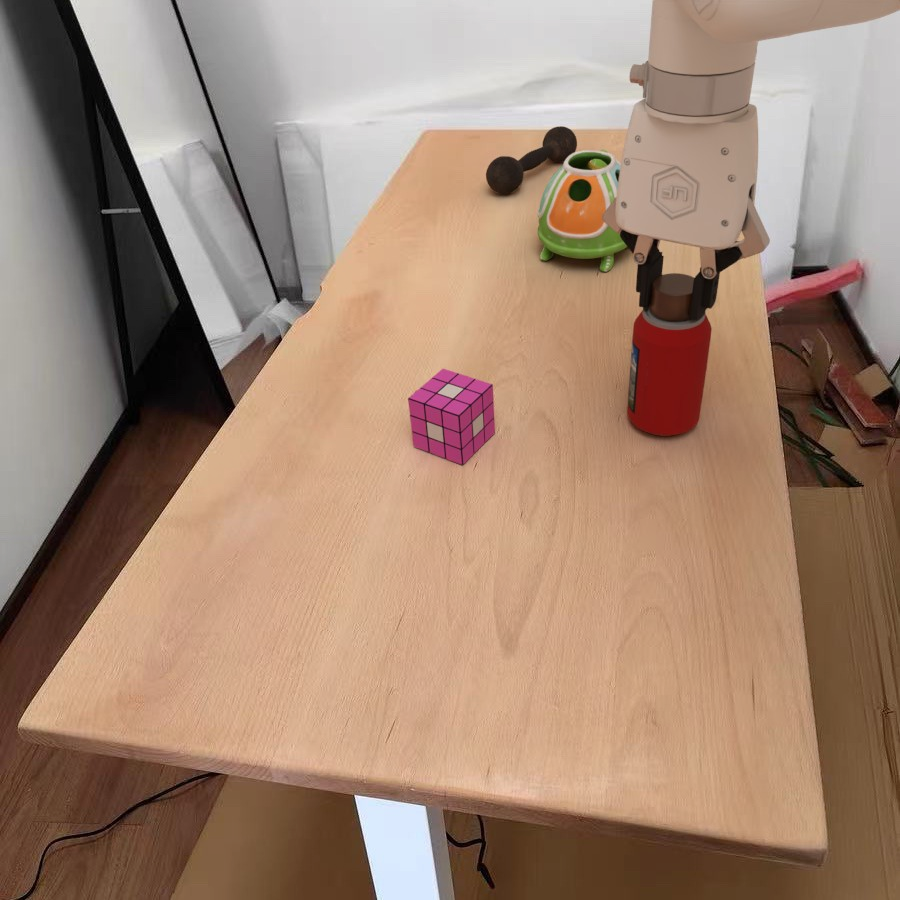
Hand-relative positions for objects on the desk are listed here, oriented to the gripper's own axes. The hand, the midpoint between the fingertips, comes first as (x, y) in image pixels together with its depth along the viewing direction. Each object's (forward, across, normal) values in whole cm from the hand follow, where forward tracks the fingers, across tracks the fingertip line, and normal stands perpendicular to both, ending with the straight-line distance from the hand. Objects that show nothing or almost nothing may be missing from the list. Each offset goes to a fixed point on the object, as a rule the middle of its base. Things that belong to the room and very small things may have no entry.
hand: (674, 304), depth 75 cm
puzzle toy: (+13, -16, -12) cm, 24 cm away
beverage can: (+13, 0, 0) cm, 13 cm away
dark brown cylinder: (0, 0, 0) cm, 0 cm away
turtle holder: (+13, -23, +31) cm, 41 cm away
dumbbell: (+13, -41, +49) cm, 65 cm away
